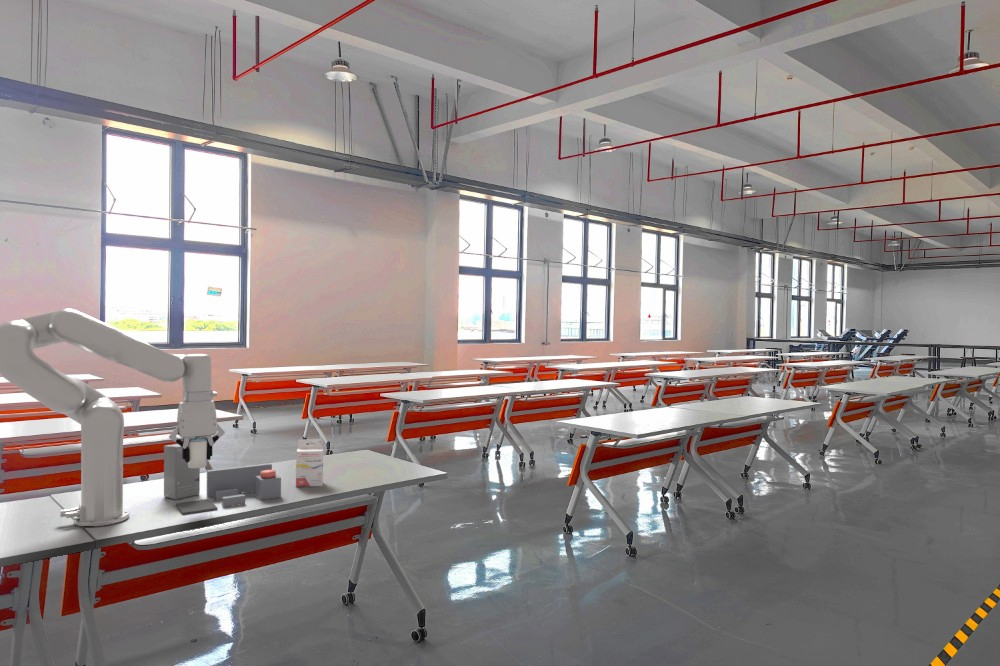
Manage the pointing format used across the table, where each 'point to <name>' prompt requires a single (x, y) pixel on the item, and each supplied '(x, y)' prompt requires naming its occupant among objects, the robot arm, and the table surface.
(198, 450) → the block
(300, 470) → the ink cartridge box
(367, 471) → the table surface
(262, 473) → the plunger
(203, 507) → the mat
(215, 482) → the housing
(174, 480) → the skincare box
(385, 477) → the table surface
